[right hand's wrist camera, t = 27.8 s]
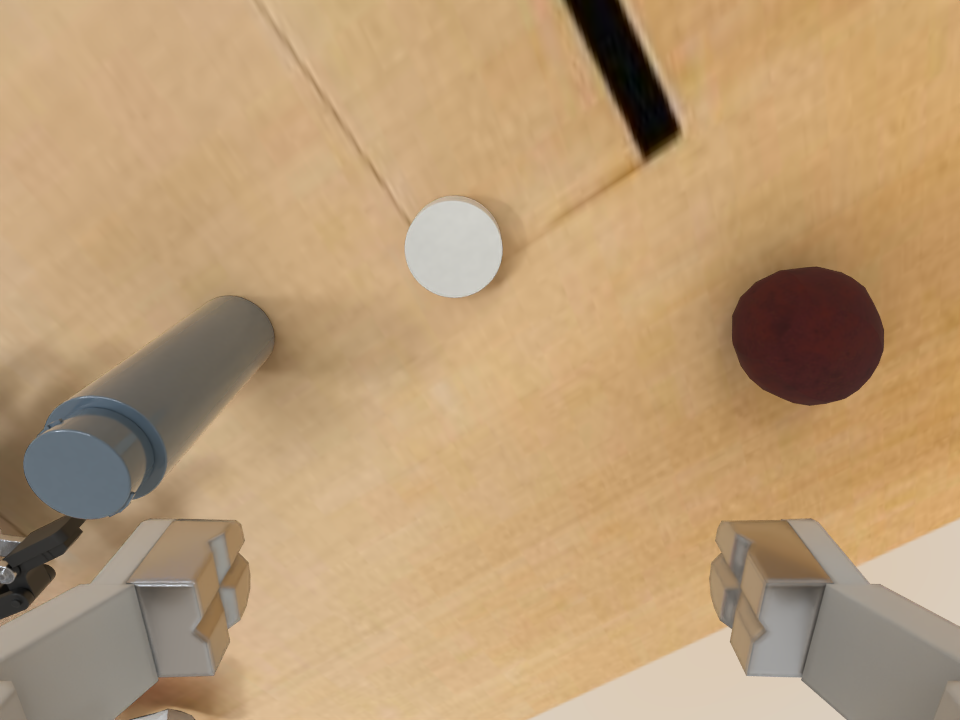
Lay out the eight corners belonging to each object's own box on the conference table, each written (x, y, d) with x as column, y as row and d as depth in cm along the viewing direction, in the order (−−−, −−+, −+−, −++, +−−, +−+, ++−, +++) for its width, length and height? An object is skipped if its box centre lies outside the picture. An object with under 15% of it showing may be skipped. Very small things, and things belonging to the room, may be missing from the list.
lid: (519, 231, 36) (522, 238, 34) (467, 304, 37) (466, 315, 35) (441, 176, 34) (439, 179, 32) (391, 254, 36) (386, 263, 34)
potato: (788, 391, 39) (850, 447, 33) (687, 336, 38) (730, 383, 31) (867, 291, 37) (951, 331, 30) (762, 229, 35) (826, 256, 29)
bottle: (181, 344, 38) (-9, 491, 23) (214, 280, 37) (34, 394, 22) (253, 384, 39) (114, 549, 24) (288, 323, 38) (163, 460, 23)
